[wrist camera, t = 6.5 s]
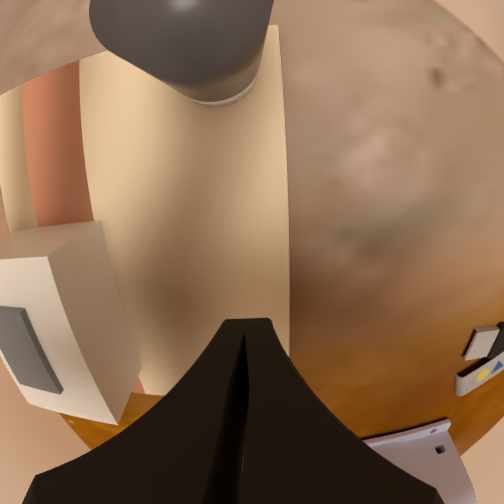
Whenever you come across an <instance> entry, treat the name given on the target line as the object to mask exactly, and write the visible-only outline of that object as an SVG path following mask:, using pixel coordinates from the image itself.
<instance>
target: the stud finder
mask: <svg viewBox="0 0 504 504" xmlns="http://www.w3.org/2000/svg"><path fill="white" fill-rule="evenodd" d="M0 356H1V358H2V360H3V362H4V363H5V365H6V367H7V369H8V371H9V372H10V374H11V376H12V378H13V379H14V381H15V383H16V384H17V386H18V387H19V389H20V391H21V392H22V394H23V395H24V397H25V398H26V400H27V401H28V403H29V404H32V405H36V406H39V407H42V408H46V409H49V410H53V411H56V412H60V413H64V414H67V415H71V416H76V417H80V418H84V419H89V420H94V421H98V422H104V423H109V424H114V425H118V424H119V421H120V419H121V416H122V414H123V411H124V409H125V406H126V404H127V401H128V399H129V397H130V394H131V392H132V389H133V387H134V385H135V382H136V380H137V377H138V375H139V373H140V370H141V365H140V363H139V360H138V357H137V354H136V351H135V348H134V345H133V342H132V339H131V336H130V333H129V330H128V326H127V323H126V320H125V317H124V313H123V310H122V306H121V303H120V299H119V296H118V292H117V288H116V284H115V280H114V276H113V272H112V268H111V264H110V260H109V255H108V251H107V246H106V241H105V237H104V232H103V227H102V221H101V220H96V221H87V222H79V223H70V224H62V225H54V226H46V227H39V228H32V229H24V230H17V231H13V232H11V233H9V234H8V235H6V236H4V237H2V238H0Z"/></svg>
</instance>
